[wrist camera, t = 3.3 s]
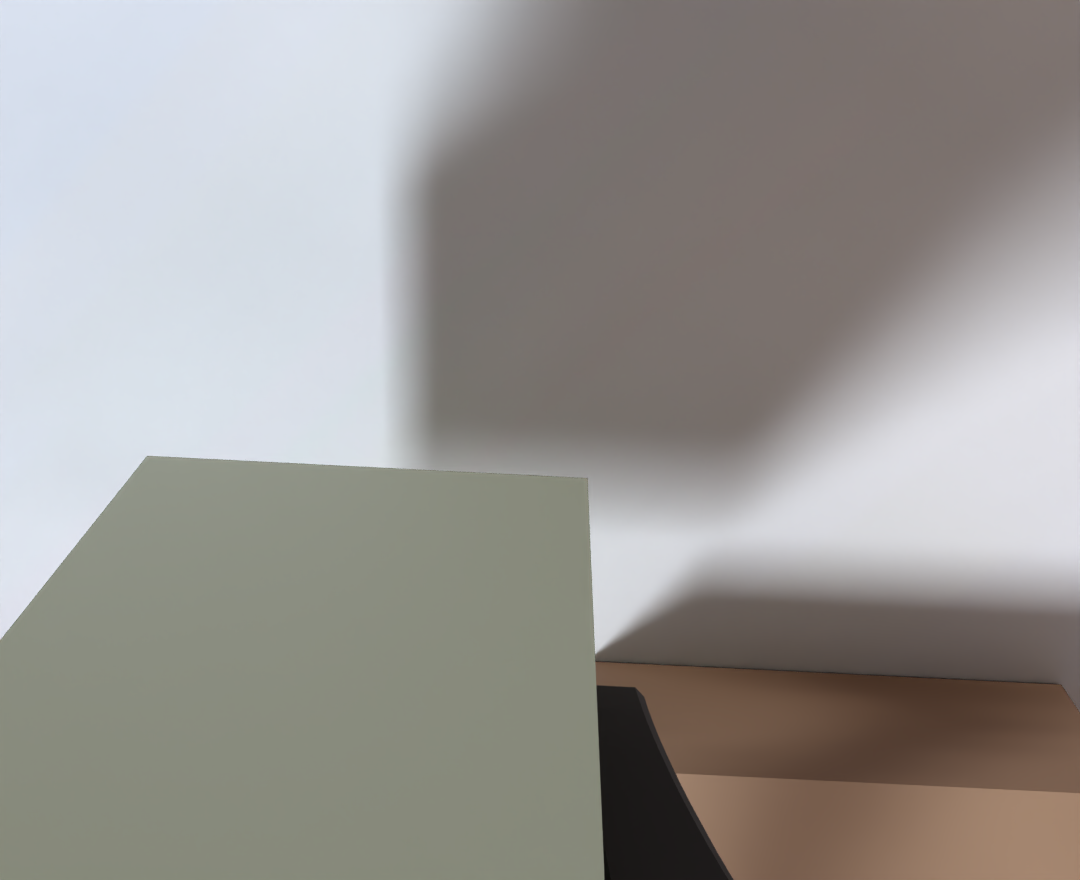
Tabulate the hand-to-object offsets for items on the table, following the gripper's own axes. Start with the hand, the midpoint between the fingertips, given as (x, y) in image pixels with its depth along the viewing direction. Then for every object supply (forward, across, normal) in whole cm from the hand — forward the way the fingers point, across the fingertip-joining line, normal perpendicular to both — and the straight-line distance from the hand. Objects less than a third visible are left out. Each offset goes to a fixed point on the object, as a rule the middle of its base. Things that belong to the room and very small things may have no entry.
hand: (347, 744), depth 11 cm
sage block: (+2, 0, 0) cm, 2 cm away
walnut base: (+5, -7, +7) cm, 11 cm away
